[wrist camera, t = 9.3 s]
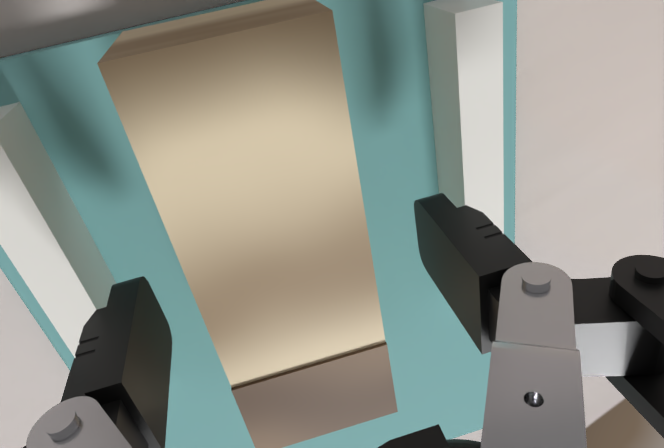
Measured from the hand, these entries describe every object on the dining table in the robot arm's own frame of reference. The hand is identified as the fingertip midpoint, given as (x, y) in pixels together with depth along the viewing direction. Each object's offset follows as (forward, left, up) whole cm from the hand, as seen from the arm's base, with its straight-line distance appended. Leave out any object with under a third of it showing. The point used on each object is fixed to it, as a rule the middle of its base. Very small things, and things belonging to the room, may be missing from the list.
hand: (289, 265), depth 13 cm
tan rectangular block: (0, 0, -3) cm, 3 cm away
